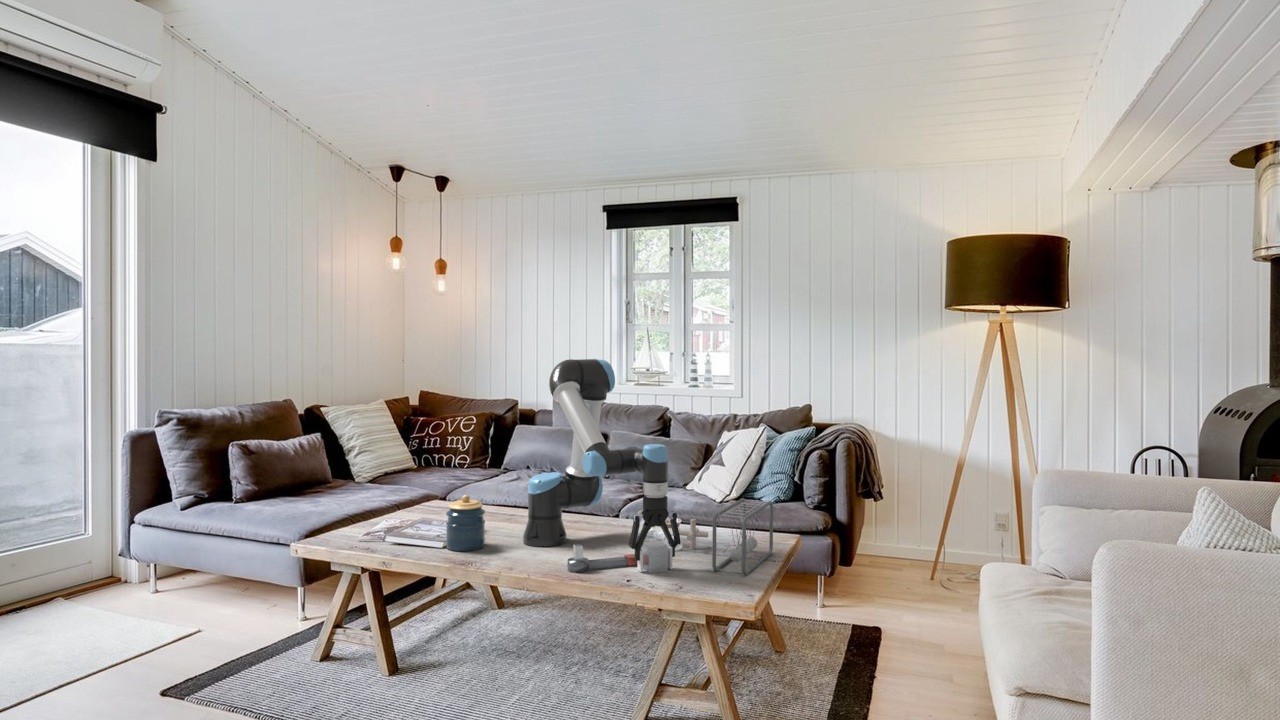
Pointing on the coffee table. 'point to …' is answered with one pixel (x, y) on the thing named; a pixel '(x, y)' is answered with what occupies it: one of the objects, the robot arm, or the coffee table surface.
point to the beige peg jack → (693, 533)
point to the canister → (465, 525)
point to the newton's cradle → (743, 536)
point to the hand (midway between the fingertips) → (654, 569)
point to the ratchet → (596, 561)
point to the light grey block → (655, 556)
